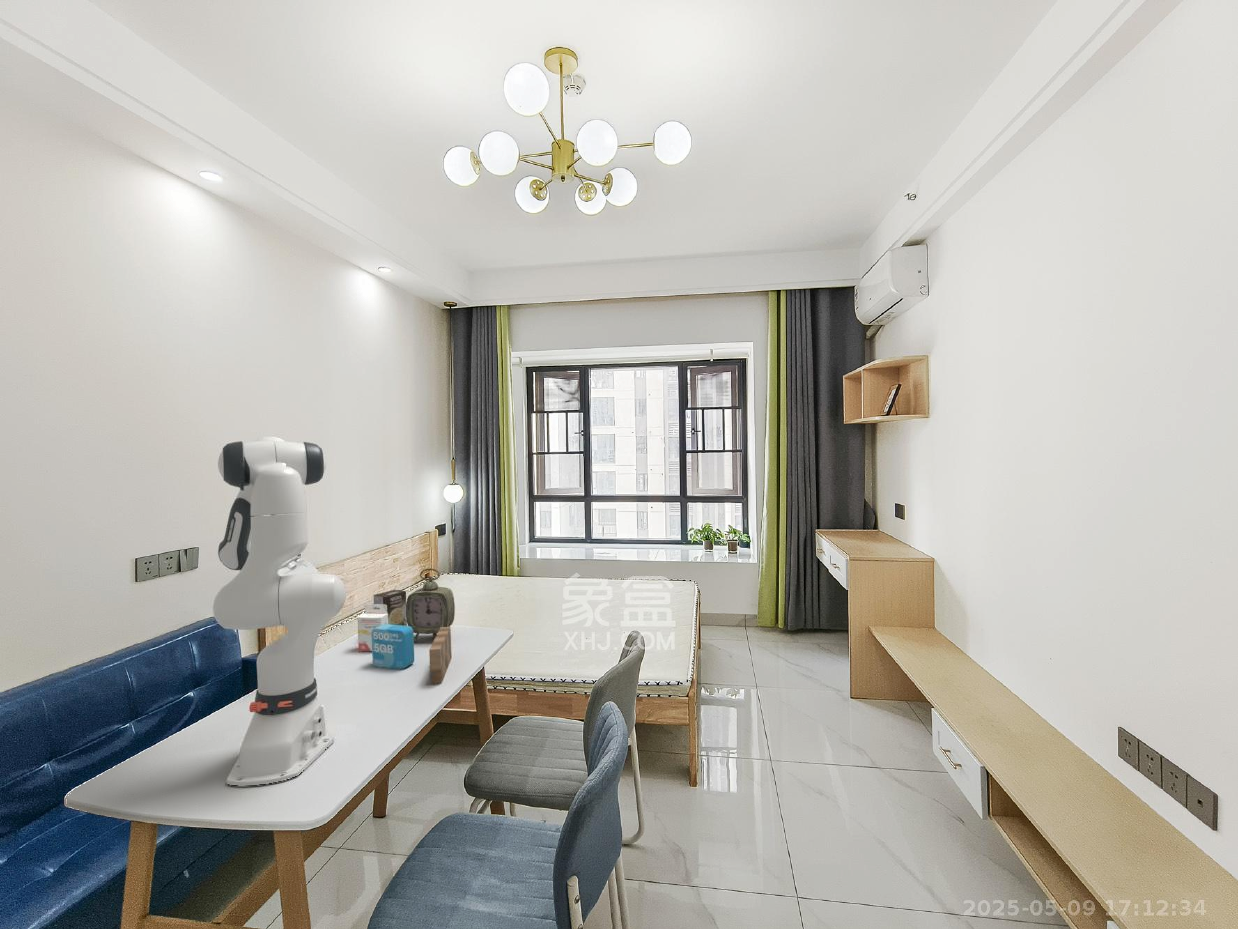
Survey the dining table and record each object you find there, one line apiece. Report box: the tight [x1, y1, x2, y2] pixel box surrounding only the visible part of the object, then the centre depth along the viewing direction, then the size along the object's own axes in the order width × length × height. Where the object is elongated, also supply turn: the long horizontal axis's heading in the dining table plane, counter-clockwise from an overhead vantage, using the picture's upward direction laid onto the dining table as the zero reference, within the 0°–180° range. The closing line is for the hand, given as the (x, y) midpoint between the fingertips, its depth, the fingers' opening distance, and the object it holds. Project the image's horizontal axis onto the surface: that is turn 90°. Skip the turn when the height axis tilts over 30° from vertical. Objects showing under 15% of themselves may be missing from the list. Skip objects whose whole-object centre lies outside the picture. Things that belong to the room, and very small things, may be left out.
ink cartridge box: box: [357, 603, 388, 652], centre depth 193 cm, size 9×5×15 cm, turn 84°
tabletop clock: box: [406, 567, 456, 643], centre depth 201 cm, size 14×9×25 cm, turn 88°
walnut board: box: [429, 626, 453, 685], centre depth 173 cm, size 20×3×10 cm, turn 8°
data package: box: [371, 624, 415, 670], centre depth 178 cm, size 12×4×12 cm, turn 74°
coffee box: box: [372, 589, 408, 626], centre depth 204 cm, size 9×6×16 cm
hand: (316, 594), depth 175 cm, fingers closed
